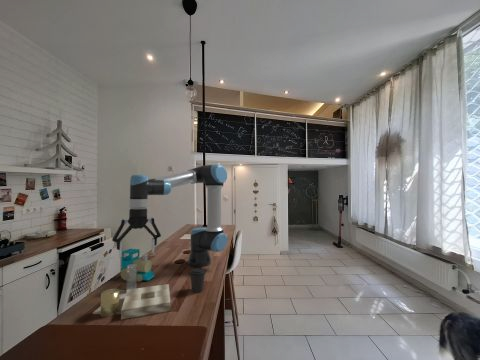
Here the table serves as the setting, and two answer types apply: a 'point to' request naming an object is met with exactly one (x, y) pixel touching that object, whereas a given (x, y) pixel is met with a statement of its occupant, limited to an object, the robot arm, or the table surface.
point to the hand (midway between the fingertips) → (137, 254)
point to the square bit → (131, 276)
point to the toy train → (142, 265)
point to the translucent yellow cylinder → (109, 302)
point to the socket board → (146, 301)
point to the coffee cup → (197, 279)
